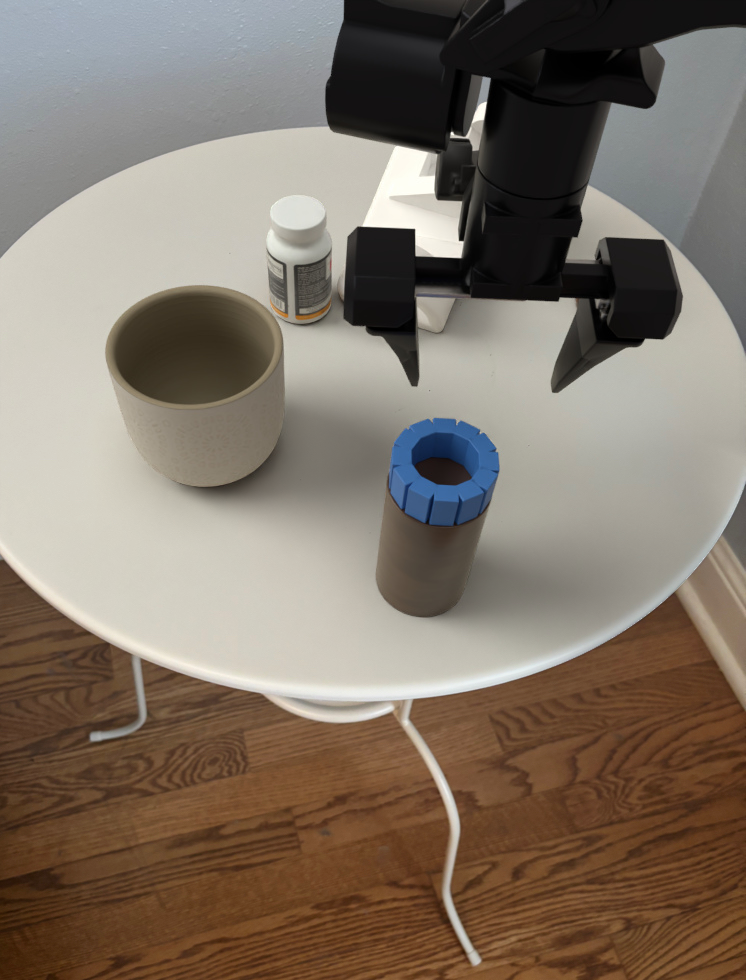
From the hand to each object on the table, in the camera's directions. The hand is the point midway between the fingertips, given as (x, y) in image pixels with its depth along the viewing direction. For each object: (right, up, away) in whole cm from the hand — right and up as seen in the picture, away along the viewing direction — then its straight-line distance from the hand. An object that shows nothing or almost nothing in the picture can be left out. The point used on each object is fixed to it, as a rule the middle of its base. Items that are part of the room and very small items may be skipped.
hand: (484, 384), depth 55 cm
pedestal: (-4, -13, +6) cm, 15 cm away
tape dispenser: (-2, +16, +25) cm, 30 cm away
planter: (-20, -2, +13) cm, 24 cm away
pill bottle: (-13, +11, +22) cm, 28 cm away
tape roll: (-3, -7, -3) cm, 8 cm away
